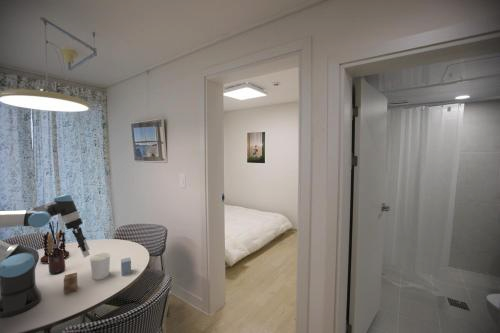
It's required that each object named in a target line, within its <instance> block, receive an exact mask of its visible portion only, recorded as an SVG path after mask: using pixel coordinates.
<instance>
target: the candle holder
mask: <svg viewBox="0 0 500 333" xmlns="http://www.w3.org/2000/svg"><path fill="white" fill-rule="evenodd" d="M110 258H111V254H110V253H109V252H102V253H96V254H94V255H92V256H91V257H90V258H89V262H90V267H91V268H90V269H91V270H90V271H91V278H92V279H93V280H95V281H97V280H102V279H105V278H107V277H108V276H109V275H110V264H111V263H110V262H111V261H110V260H111V259H110Z"/></svg>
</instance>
